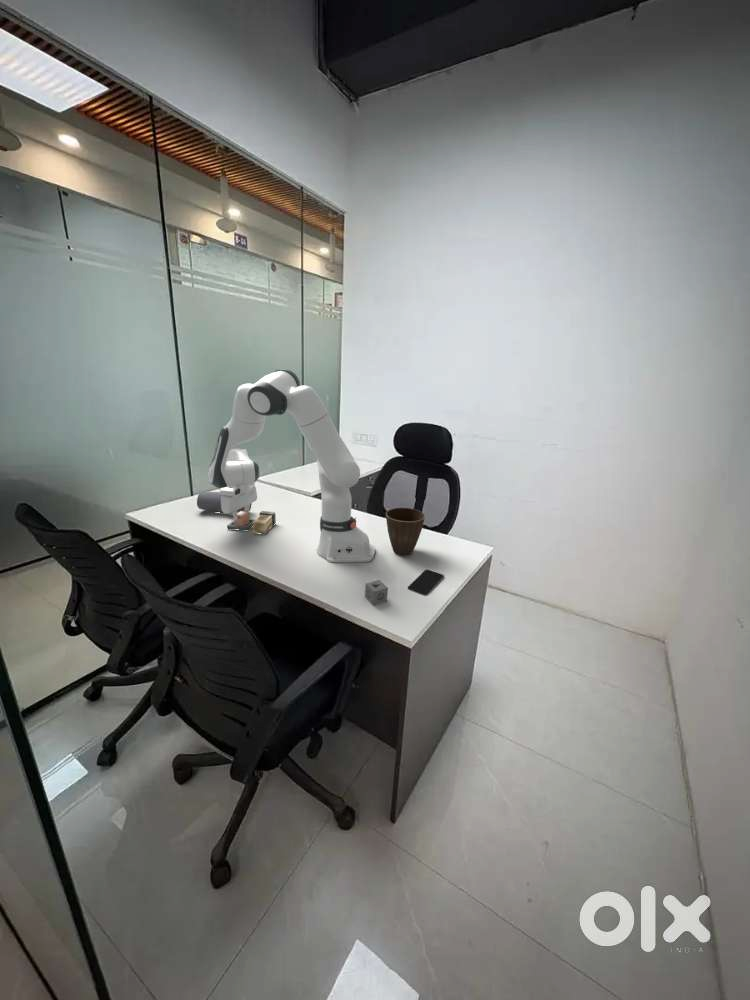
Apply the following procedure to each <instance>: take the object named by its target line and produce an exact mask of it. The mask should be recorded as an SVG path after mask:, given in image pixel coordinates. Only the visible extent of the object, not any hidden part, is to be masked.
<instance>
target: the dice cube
mask: <svg viewBox="0 0 750 1000" xmlns="http://www.w3.org/2000/svg"><path fill="white" fill-rule="evenodd" d="M364 587H365V588H364V598H365V599H366V600H367V601H368V602H369V603H370V604H371V606H373V607H374V606H377V605H379V604H380V605H381V604H383V603H386V602H388V592H389V587H388V586H387V585H386V584H385V583H384V582H383V581H382V580H381V579H376V580H373V581H370V582H366V583H365V585H364Z"/></svg>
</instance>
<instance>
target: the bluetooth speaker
mask: <svg viewBox="0 0 750 1000" xmlns="http://www.w3.org/2000/svg"><path fill="white" fill-rule="evenodd" d="M221 497H222V494H220V491H200V492H199V493H198V495H197V497H196V507H197V508H198V509H199V510H203V511H209V512H213V513H214V512H220V513H223V512H222V509H221ZM244 509H245V507H243V508H241V509H239V510H237V513H238V512H240V511H243V510H244ZM251 509H252V503H251V504H250V508H249V512H250V511H251ZM231 514H232V513H231Z"/></svg>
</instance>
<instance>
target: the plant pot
mask: <svg viewBox="0 0 750 1000" xmlns="http://www.w3.org/2000/svg"><path fill="white" fill-rule="evenodd" d="M425 518H426V516H425V514H424V512H423V511H421V510H419V509H415V508H410V507H395V508H394V507H393V508H390V509H388V510H387V511H386V512H385V519H386V520H385V521H386V526H387V534H388V537H389V542H390V545H391V549H392V551H393V553H394V555H397V556H401V557H406V556H410V555H412V554H413V551H414V550H415V548H416V545H417V543H418V541H419V538H420V536H421V532H422V530H423V526H424V523H425Z"/></svg>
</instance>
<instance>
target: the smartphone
mask: <svg viewBox="0 0 750 1000" xmlns="http://www.w3.org/2000/svg"><path fill="white" fill-rule="evenodd" d="M444 577H445V575H444V574H443V573H440V572H437V571H434V570H431V569H424V571H422V572H421V573H420V574H419V575H418V576H417V577H416V578H415V579H414V580H413V581H412V582H411V583H410V584H409V585H408V586H407V590H409V591H410V592H413V593H416V594H418V595H421V596H424V597H427V596H429V594H431V592H432V591H433V590H434V589H435V588H436V587H437V586H438V585H439V583H441V582H442V580H443V579H444Z"/></svg>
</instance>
